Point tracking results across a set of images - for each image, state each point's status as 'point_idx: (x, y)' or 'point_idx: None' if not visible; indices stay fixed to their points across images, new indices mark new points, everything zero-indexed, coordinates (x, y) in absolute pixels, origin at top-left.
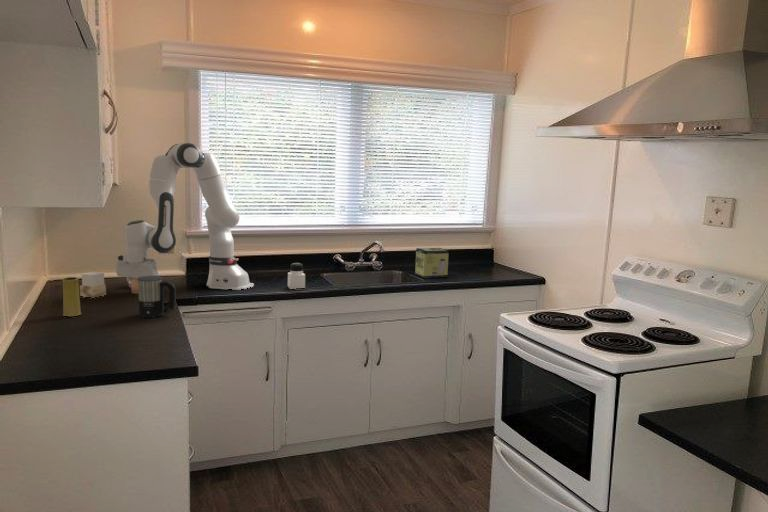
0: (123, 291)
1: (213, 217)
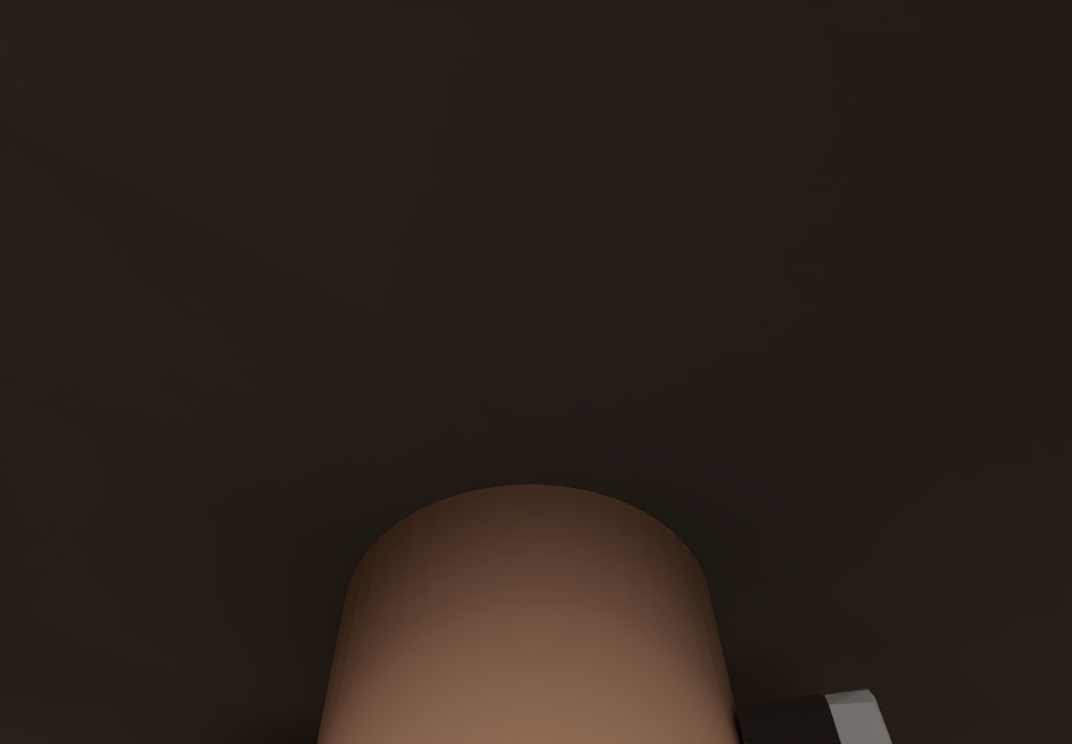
0: (92, 739)
1: None
